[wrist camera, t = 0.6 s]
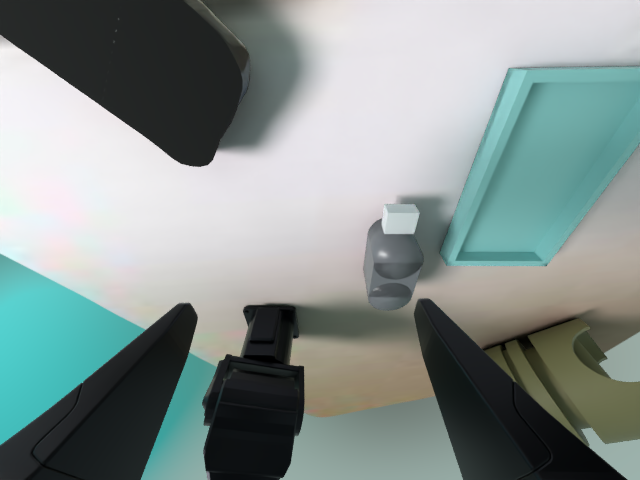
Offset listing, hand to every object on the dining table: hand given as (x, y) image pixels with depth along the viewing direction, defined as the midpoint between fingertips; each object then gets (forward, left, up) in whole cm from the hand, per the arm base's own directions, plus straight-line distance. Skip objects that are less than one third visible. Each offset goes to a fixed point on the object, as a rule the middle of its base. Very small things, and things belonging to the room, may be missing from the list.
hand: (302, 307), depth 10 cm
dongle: (-8, -7, -13) cm, 17 cm away
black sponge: (+10, +11, -14) cm, 20 cm away
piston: (-24, -29, -13) cm, 40 cm away
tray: (-1, -17, -13) cm, 21 cm away
